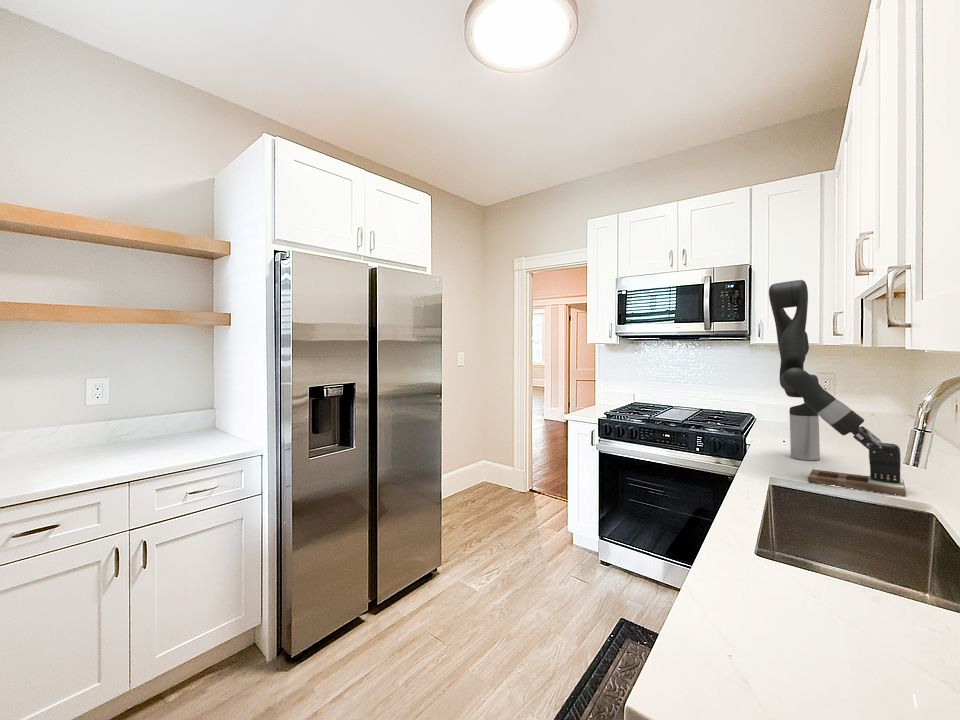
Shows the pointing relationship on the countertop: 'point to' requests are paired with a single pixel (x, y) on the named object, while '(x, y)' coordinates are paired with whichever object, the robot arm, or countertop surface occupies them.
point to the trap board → (856, 482)
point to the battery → (886, 464)
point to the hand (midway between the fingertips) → (891, 457)
